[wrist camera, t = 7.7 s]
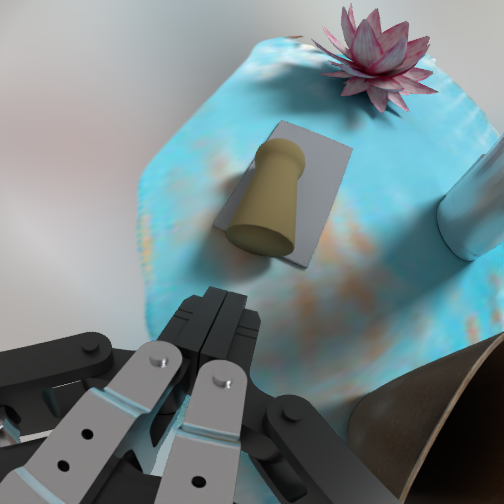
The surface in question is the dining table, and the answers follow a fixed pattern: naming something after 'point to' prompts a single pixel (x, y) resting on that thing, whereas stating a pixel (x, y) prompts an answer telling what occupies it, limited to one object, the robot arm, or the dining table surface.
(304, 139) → the mat
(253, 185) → the cork
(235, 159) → the dining table surface
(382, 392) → the plant pot
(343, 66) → the decorative flower
